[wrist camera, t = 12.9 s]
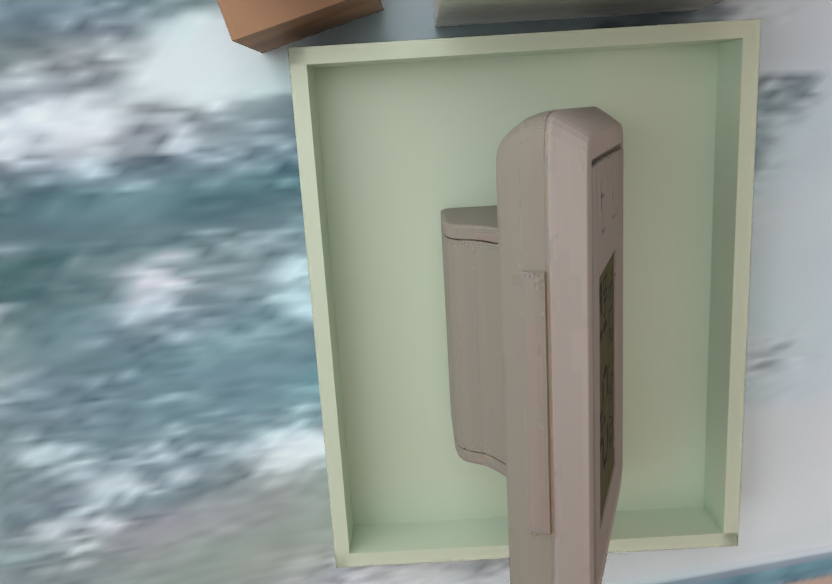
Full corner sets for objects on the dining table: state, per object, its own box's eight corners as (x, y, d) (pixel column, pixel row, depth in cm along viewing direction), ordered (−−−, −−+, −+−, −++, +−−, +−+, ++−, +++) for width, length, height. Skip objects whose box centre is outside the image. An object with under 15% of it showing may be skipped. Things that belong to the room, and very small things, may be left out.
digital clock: (605, 498, 33) (693, 674, 23) (401, 471, 33) (395, 637, 22) (687, 121, 29) (837, 125, 19) (458, 88, 29) (483, 73, 19)
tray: (342, 531, 34) (336, 567, 31) (299, 54, 29) (287, 47, 26) (711, 510, 34) (737, 545, 31) (728, 27, 29) (760, 18, 26)
